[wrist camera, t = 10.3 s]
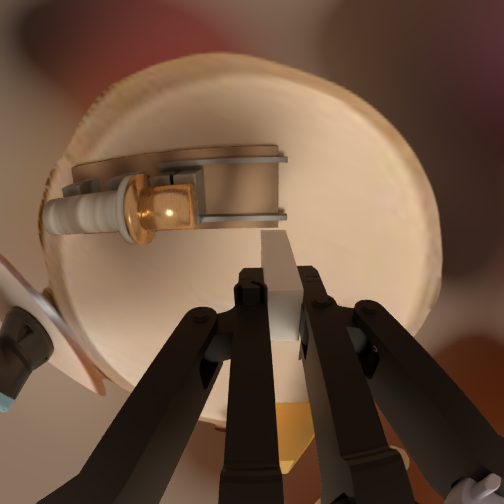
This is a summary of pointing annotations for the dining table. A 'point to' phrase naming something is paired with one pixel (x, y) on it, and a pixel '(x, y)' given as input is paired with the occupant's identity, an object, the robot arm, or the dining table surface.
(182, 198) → the coupling
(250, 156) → the pipe jig
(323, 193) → the dining table surface
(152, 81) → the dining table surface
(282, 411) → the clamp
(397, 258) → the dining table surface
